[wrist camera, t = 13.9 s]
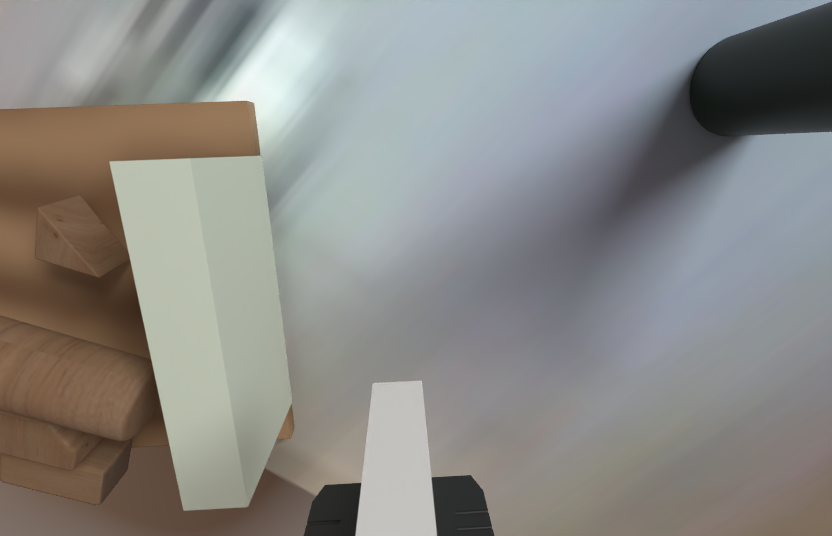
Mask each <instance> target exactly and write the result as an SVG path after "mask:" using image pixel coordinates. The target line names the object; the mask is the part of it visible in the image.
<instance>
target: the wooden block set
mask: <svg viewBox="0 0 832 536" xmlns="http://www.w3.org/2000/svg"><path fill="white" fill-rule="evenodd" d="M35 259H38V260H41V261H45V262H48V263H51V264H54V265H57V266H61V267H64V268H67V269H70V270H74V271H77V272H80V273H83V274H87V275H90V276H93V277H96V278H100V277H102V276H104V275H106V274H107V273H109V272H111V271H113V270H114V269H116V268H118V267H120V266H121V265H123V264H125V263H127V262H128V261H130V257H129V254H128V252H127V251H126V250H125V249H124V248H123V246H122V245H121V244H120V243H119V242H118V240H117V239H116V238H115V237H114V236H113V234H112V233H111V232H110V231H109V230H108V228H107V227H106V226H105V225H104V224H103V222H102V221H101V220H100V219H99V218H98V216H97V215H96V214H95V213H94V212H93V210H92V209H91V208H90V207H89V206H88V204H87V203H86V202H85V201H84V200H83V198H82V197H81V196H75V197H72V198H68V199H65V200H62V201H58V202H55V203H52V204H48V205H45V206H41V207H38V208H37V220H36V239H35ZM159 402H160V398H159V393H158V388H157V384H156V379H155V374H154V370H153V365H152V360H151V359H148V358H145V357H142V356H138V355H135V354H131V353H128V352H125V351H121V350H118V349H114V348H111V347H107V346H104V345H101V344H97V343H94V342H90V341H87V340H83V339H80V338H77V337H73V336H70V335H66V334H63V333H59V332H56V331H53V330H49V329H46V328H42V327H39V326H35V325H32V324H29V323H25V322H22V321H18V320H15V319H12V318H8V317H5V316H1V315H0V480H1V481H2V482H4V483H9V484H12V485H16V486H20V487H24V488H28V489H32V490H36V491H41V492H45V493H48V494H53V495H56V496H61V497H65V498H69V499H73V500H77V501H81V502H85V503H89V504H93V505H100V504H101V503H102V502H103V501H104V499H105V498H106V497H107V496H108V494H109V493H110V492H111V490H112V489H113V488H114V486H115V485H116V484H117V483H118V481H119V480H120V479H121V478H122V476H123V475H124V474H125V472H126V471H127V469H128V462H129V456H130V451H131V445H132V440H131V438H133V437H134V436H136V434H137V433H138V432H139V431H140V430H141V429H142V428H143V427H144V426H145V424H146V423H147V422H148V420H149V419H150V418H151V416H152V415H153V413H154V411H155V410H156V408H157V406H158V404H159Z"/></svg>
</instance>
